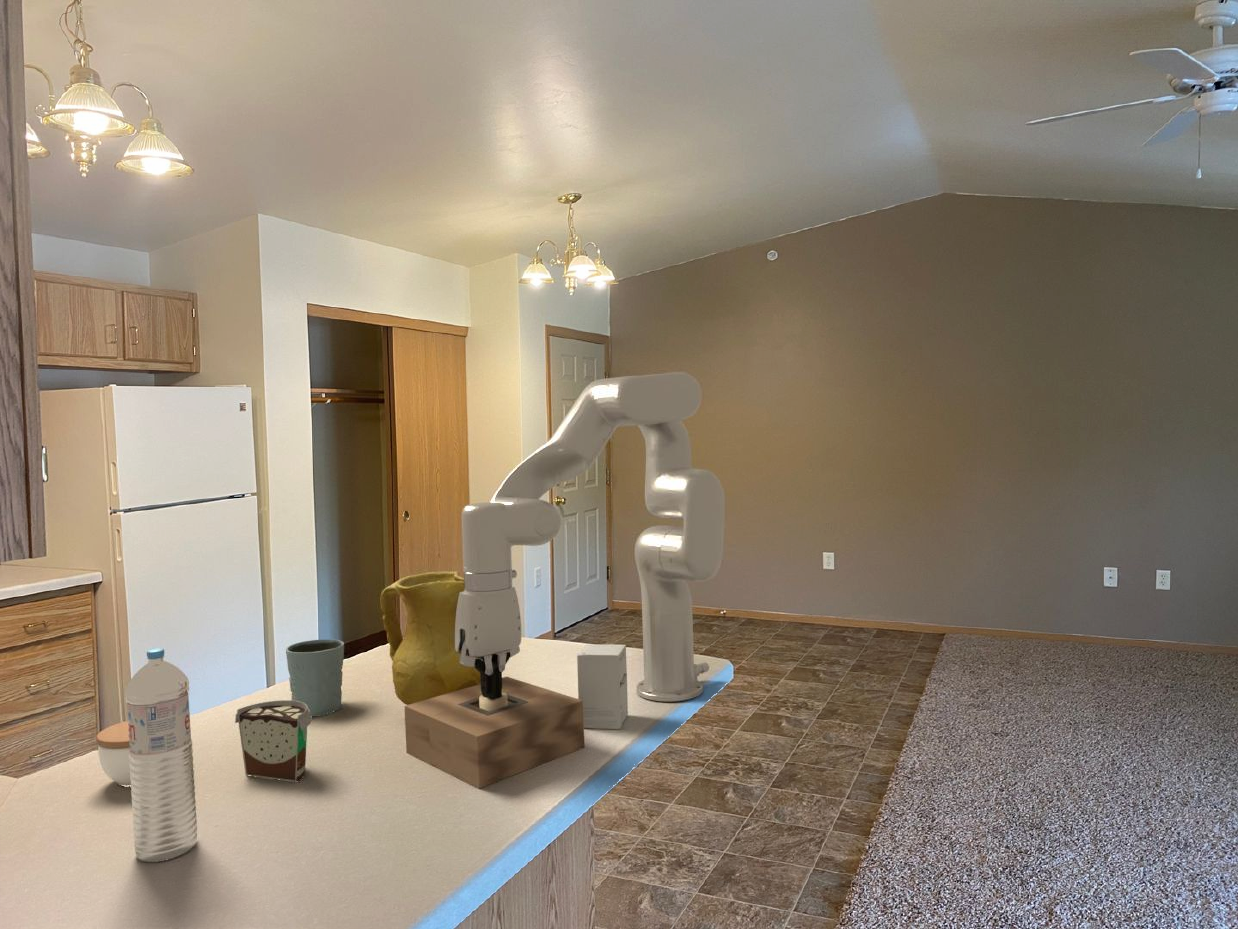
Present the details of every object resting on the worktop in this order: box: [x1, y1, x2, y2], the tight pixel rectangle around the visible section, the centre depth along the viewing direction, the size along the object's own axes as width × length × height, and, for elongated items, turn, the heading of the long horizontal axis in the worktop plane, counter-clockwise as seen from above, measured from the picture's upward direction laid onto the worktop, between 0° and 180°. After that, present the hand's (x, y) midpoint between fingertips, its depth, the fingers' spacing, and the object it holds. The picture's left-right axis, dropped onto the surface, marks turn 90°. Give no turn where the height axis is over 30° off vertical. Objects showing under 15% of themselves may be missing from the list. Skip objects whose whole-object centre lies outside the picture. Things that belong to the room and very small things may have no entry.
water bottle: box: [124, 647, 198, 863], centre depth 101 cm, size 7×7×25 cm
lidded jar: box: [96, 720, 131, 786], centre depth 123 cm, size 11×11×9 cm
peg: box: [479, 693, 508, 711], centre depth 130 cm, size 4×4×7 cm
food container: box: [234, 699, 313, 783], centre depth 125 cm, size 12×6×10 cm, turn 71°
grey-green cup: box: [285, 638, 345, 717], centre depth 153 cm, size 10×10×12 cm
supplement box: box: [576, 643, 629, 730], centre depth 141 cm, size 7×7×13 cm
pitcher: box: [379, 571, 481, 706], centre depth 148 cm, size 17×19×25 cm
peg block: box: [404, 676, 585, 790], centre depth 130 cm, size 20×20×8 cm
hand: (491, 696), depth 129 cm, fingers closed
